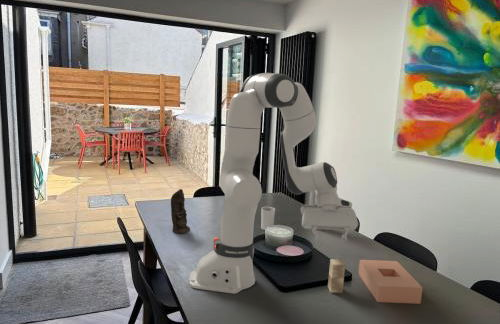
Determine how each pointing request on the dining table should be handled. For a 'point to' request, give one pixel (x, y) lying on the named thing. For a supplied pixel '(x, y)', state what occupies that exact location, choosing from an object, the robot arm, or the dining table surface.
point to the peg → (336, 276)
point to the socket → (390, 282)
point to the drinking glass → (267, 217)
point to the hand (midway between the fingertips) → (331, 239)
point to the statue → (179, 213)
